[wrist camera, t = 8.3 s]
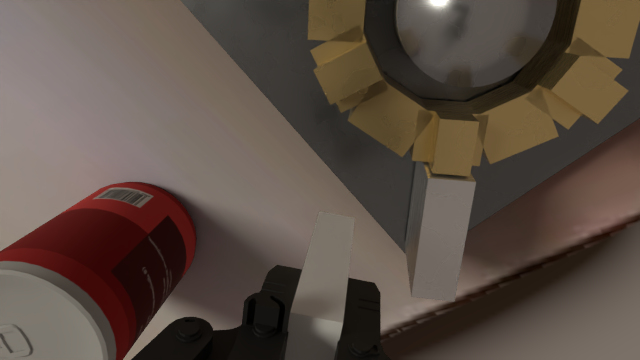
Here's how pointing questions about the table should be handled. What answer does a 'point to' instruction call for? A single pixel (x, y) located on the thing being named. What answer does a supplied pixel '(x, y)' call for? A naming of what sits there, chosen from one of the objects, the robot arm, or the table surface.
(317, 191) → the table surface
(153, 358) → the robot arm
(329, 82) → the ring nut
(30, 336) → the canned food
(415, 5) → the base plate
